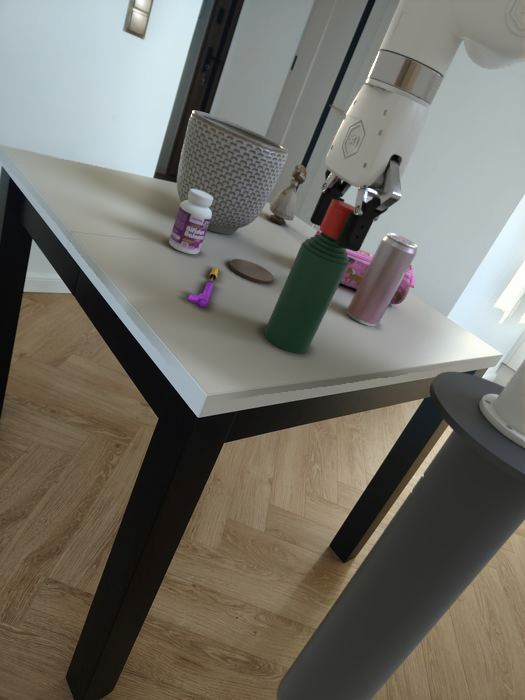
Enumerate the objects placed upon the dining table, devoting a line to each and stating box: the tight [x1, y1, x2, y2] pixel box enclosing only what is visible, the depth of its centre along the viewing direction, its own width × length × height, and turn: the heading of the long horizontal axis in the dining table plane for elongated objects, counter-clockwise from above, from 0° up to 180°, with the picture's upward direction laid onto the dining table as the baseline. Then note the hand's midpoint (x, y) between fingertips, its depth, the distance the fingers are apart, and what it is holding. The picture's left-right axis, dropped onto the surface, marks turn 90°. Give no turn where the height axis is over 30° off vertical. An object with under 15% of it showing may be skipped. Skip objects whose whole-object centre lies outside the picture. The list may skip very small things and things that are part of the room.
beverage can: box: [347, 231, 419, 327], centre depth 86 cm, size 6×6×15 cm
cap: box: [319, 199, 355, 239], centre depth 61 cm, size 4×4×4 cm
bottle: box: [263, 232, 349, 354], centre depth 65 cm, size 6×6×18 cm
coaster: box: [229, 258, 275, 285], centre depth 87 cm, size 8×8×1 cm
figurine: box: [269, 163, 308, 226], centre depth 127 cm, size 8×7×15 cm
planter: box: [176, 109, 290, 235], centre depth 100 cm, size 20×20×19 cm
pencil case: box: [313, 229, 416, 306], centre depth 100 cm, size 21×9×9 cm, turn 89°
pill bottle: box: [168, 189, 213, 255], centre depth 83 cm, size 5×5×10 cm
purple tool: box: [187, 267, 219, 308], centre depth 75 cm, size 3×1×16 cm
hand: (333, 235), depth 62 cm, fingers open, 6 cm apart
